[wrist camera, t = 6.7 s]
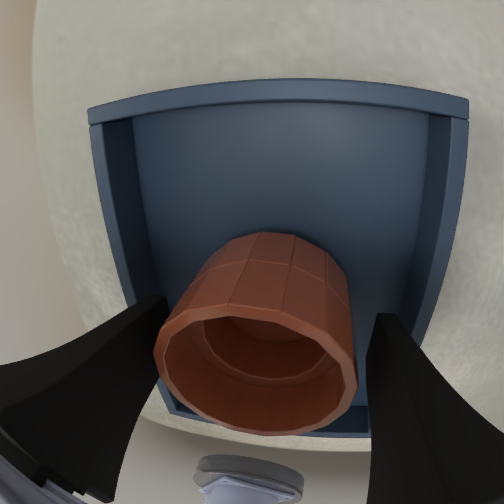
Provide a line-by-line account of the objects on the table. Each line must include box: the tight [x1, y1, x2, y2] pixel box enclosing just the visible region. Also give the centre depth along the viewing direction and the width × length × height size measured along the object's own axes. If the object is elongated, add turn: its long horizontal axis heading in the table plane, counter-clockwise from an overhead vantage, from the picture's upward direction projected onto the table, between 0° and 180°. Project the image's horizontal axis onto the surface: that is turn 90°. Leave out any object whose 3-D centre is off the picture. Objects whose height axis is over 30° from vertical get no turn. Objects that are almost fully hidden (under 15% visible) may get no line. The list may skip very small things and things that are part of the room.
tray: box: [87, 78, 469, 438], centre depth 11 cm, size 15×11×2 cm
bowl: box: [153, 231, 359, 436], centre depth 10 cm, size 6×6×4 cm
